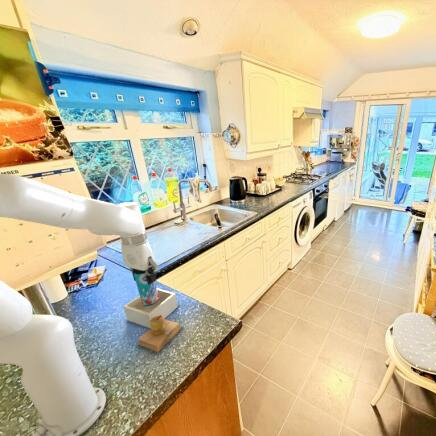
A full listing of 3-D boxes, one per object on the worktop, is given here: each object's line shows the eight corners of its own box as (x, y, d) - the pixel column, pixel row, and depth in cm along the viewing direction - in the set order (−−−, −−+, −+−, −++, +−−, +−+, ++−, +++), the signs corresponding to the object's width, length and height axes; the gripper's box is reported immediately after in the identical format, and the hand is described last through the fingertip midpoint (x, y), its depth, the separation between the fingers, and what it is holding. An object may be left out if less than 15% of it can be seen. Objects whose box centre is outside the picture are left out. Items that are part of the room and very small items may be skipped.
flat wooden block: (158, 352, 78) (156, 345, 77) (139, 345, 80) (137, 338, 79) (180, 329, 87) (179, 323, 85) (163, 323, 89) (161, 317, 88)
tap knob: (159, 336, 80) (155, 325, 78) (150, 333, 81) (146, 322, 79) (168, 328, 83) (165, 316, 82) (159, 325, 85) (156, 313, 83)
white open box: (152, 329, 87) (148, 315, 84) (127, 320, 90) (123, 306, 88) (178, 306, 98) (175, 293, 95) (154, 299, 101) (151, 286, 99)
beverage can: (144, 309, 88) (135, 275, 83) (140, 301, 92) (131, 268, 86) (161, 301, 92) (153, 268, 86) (156, 294, 96) (149, 262, 90)
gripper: (105, 238, 81) (119, 281, 88) (143, 246, 76) (154, 292, 82) (126, 230, 88) (137, 270, 94) (162, 237, 82) (171, 279, 89)
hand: (145, 280), depth 88 cm, fingers closed on beverage can, 5 cm apart
